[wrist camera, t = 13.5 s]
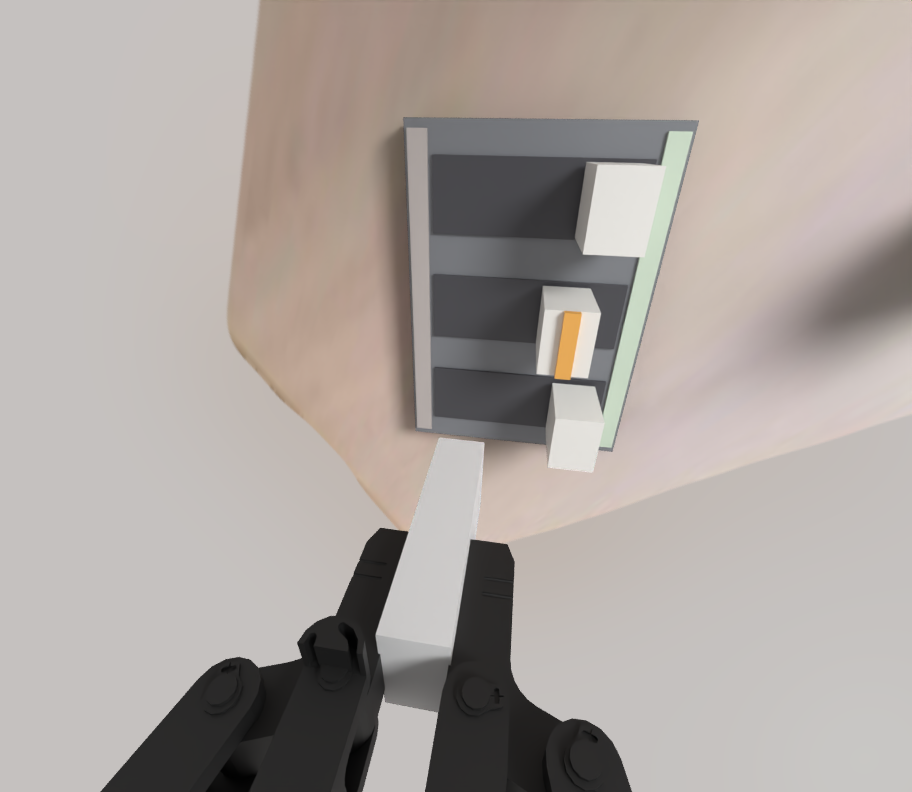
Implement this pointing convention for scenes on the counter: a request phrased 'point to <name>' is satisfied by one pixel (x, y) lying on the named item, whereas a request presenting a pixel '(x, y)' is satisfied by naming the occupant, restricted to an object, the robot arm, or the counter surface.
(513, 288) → the panel
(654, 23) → the counter surface
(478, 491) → the robot arm
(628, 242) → the breaker near
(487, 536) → the counter surface
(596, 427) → the block
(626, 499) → the counter surface
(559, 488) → the counter surface
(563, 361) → the breaker mid
